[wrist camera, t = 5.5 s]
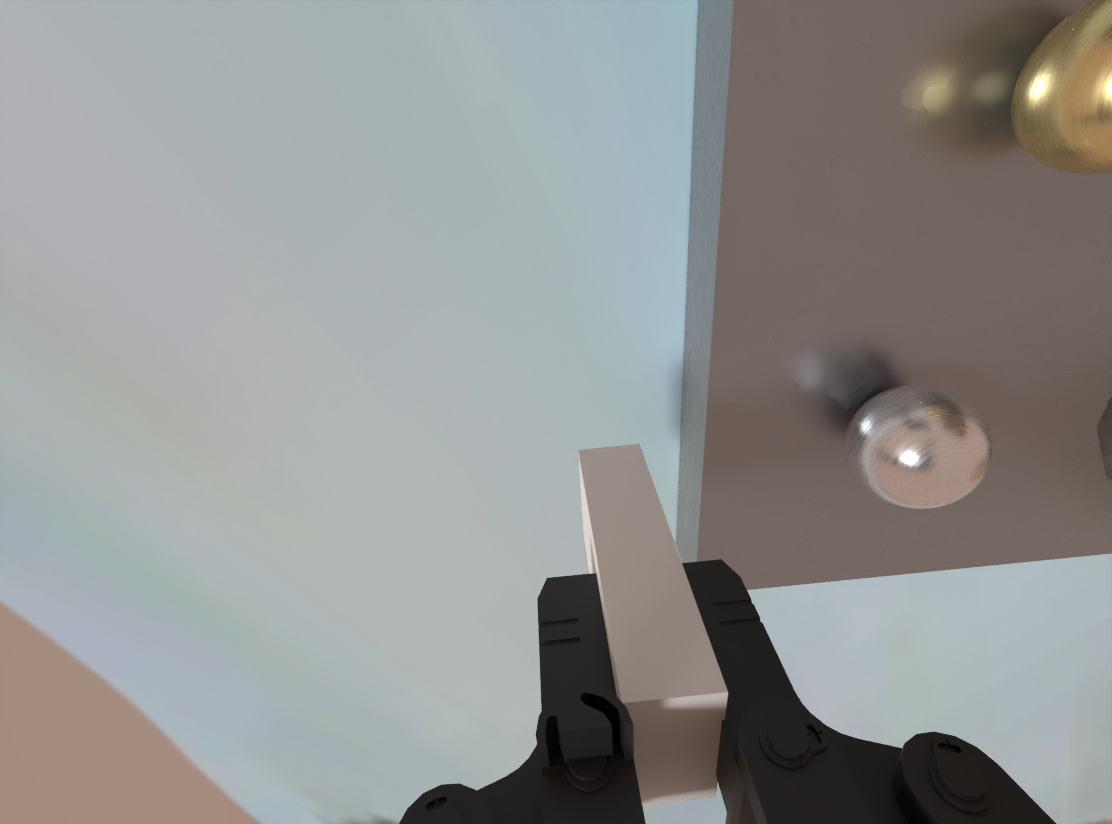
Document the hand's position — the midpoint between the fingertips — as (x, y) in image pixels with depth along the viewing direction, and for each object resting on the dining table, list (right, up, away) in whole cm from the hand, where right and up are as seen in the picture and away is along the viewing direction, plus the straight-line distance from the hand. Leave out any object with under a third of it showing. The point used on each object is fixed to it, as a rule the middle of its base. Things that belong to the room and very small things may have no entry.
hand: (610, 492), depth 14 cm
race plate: (+13, +6, +3) cm, 15 cm away
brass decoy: (+9, +8, -4) cm, 13 cm away
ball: (+8, +1, 0) cm, 8 cm away
